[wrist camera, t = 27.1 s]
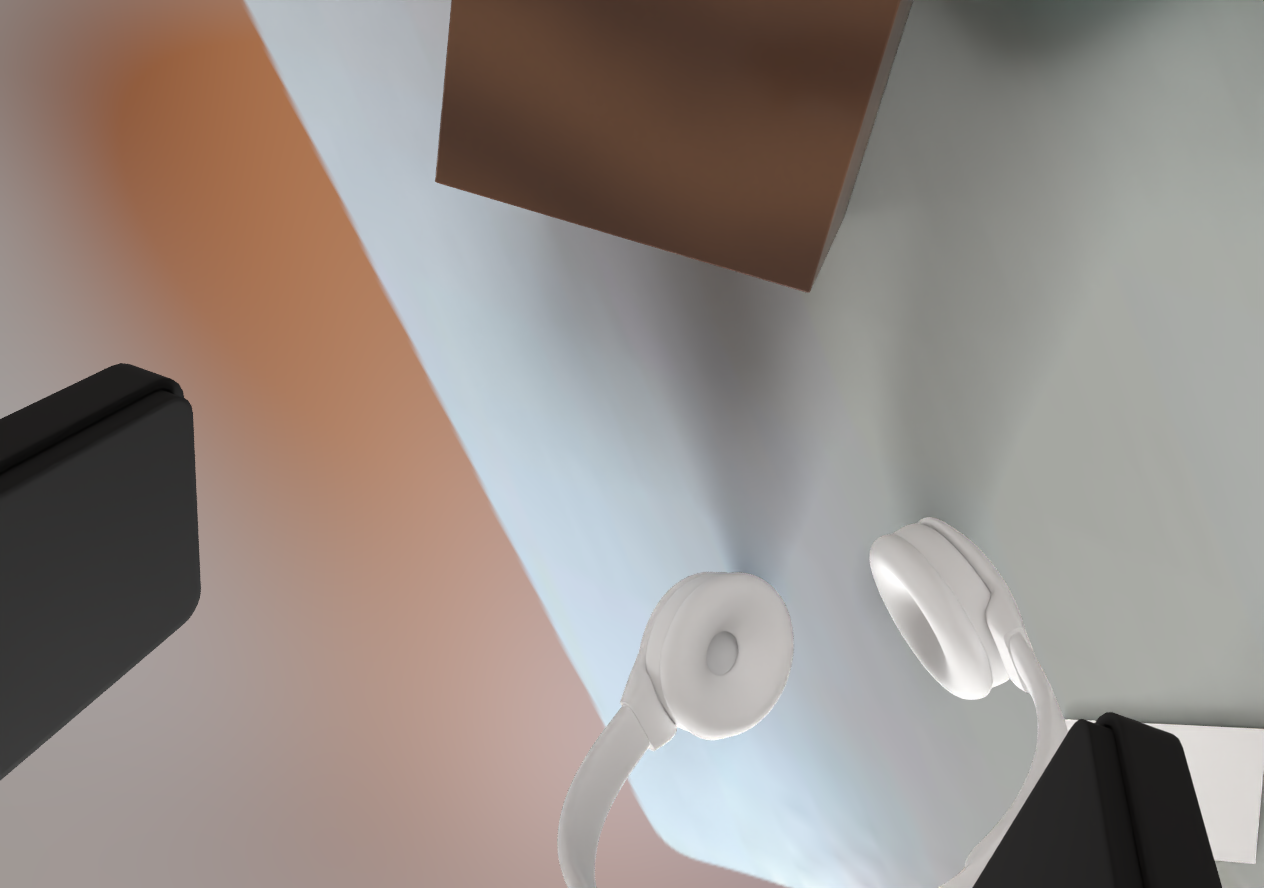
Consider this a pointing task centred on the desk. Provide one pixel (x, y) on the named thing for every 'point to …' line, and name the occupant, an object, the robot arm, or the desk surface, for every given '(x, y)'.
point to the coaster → (1224, 784)
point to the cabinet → (672, 119)
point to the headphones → (762, 658)
